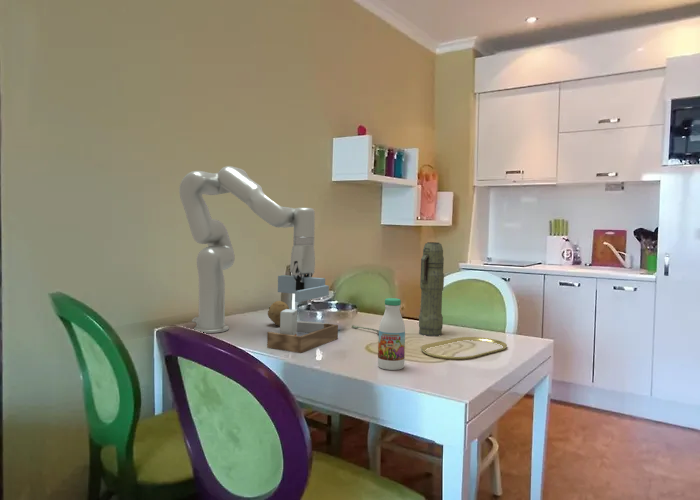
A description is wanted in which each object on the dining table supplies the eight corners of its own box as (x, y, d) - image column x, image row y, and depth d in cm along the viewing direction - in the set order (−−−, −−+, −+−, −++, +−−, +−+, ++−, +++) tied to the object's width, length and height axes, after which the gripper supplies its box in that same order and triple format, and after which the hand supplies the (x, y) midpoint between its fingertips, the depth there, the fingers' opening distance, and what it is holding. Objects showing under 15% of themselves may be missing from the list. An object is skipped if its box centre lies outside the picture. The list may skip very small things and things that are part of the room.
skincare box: (291, 348, 171) (292, 312, 171) (279, 347, 172) (279, 311, 172) (297, 344, 177) (297, 309, 177) (285, 343, 178) (285, 308, 178)
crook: (250, 297, 177) (250, 279, 177) (283, 291, 195) (283, 275, 194) (299, 302, 168) (299, 283, 168) (328, 295, 186) (328, 278, 186)
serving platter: (517, 348, 181) (517, 344, 181) (455, 365, 157) (455, 359, 157) (472, 338, 195) (472, 334, 195) (409, 352, 171) (409, 347, 171)
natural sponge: (262, 325, 207) (262, 301, 207) (276, 322, 215) (277, 298, 214) (280, 328, 202) (280, 303, 202) (294, 325, 210) (294, 300, 210)
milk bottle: (376, 363, 156) (377, 296, 155) (401, 363, 156) (403, 297, 155) (379, 370, 148) (381, 300, 147) (406, 370, 149) (408, 301, 147)
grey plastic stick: (296, 332, 197) (296, 322, 197) (298, 331, 200) (298, 320, 200) (327, 334, 195) (327, 324, 195) (328, 333, 198) (329, 322, 198)
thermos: (412, 334, 198) (414, 242, 196) (428, 329, 207) (431, 241, 205) (432, 338, 192) (435, 243, 191) (448, 333, 201) (451, 242, 200)
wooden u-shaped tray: (267, 347, 172) (267, 332, 172) (306, 334, 194) (306, 321, 193) (301, 352, 166) (301, 337, 166) (337, 338, 188) (338, 324, 187)
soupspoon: (387, 341, 190) (399, 340, 194) (388, 332, 189) (400, 331, 194) (346, 329, 206) (358, 328, 210) (347, 321, 205) (359, 320, 210)
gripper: (307, 241, 197) (306, 289, 198) (282, 242, 182) (281, 294, 183) (324, 241, 193) (323, 291, 194) (300, 242, 179) (299, 296, 180)
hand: (303, 292), depth 189 cm, fingers closed on crook, 3 cm apart
